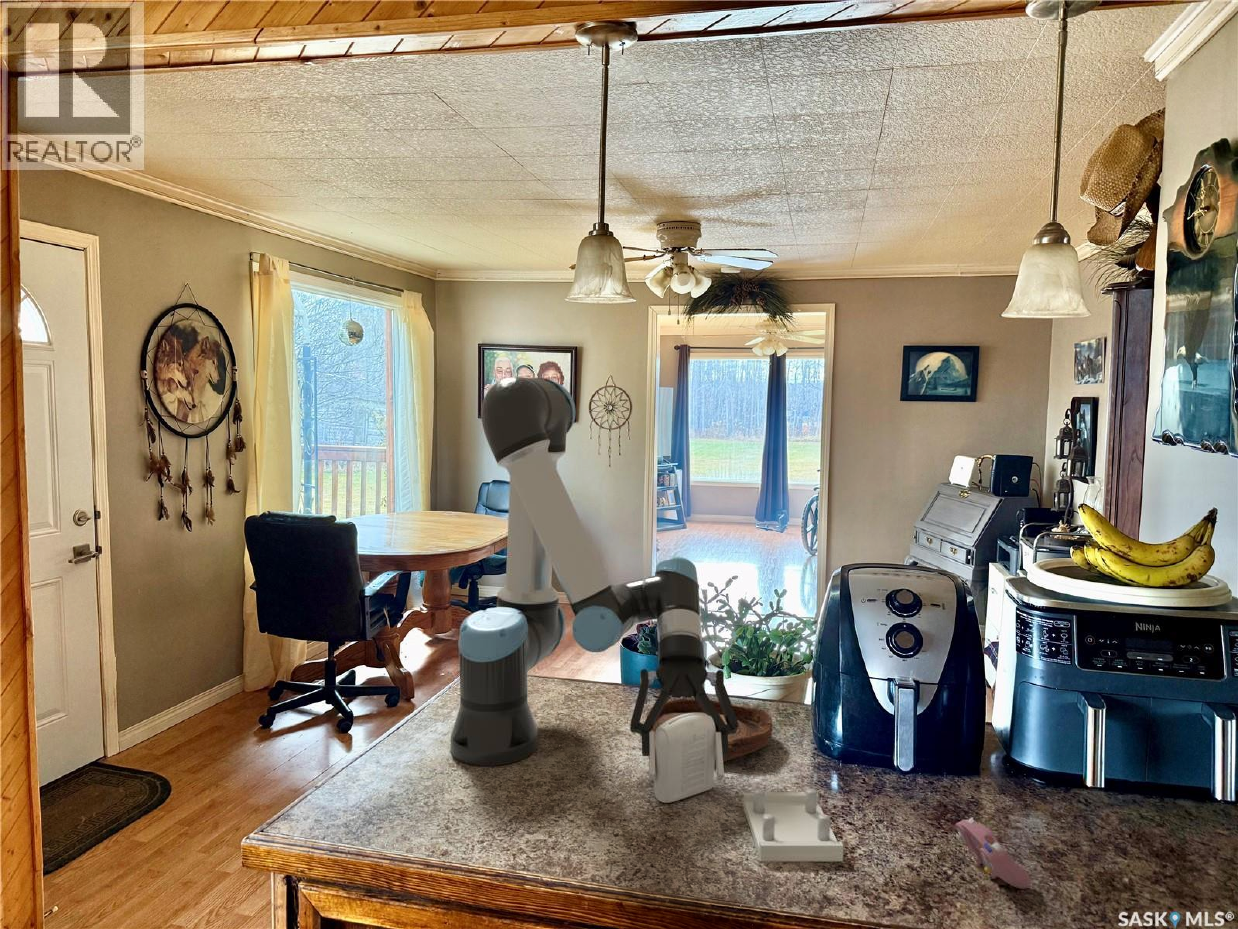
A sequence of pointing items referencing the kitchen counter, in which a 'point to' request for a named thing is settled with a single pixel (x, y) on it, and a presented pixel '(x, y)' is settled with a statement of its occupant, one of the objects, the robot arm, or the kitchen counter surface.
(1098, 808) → the kitchen counter surface
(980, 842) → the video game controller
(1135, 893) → the kitchen counter surface
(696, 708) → the basket
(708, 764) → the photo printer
